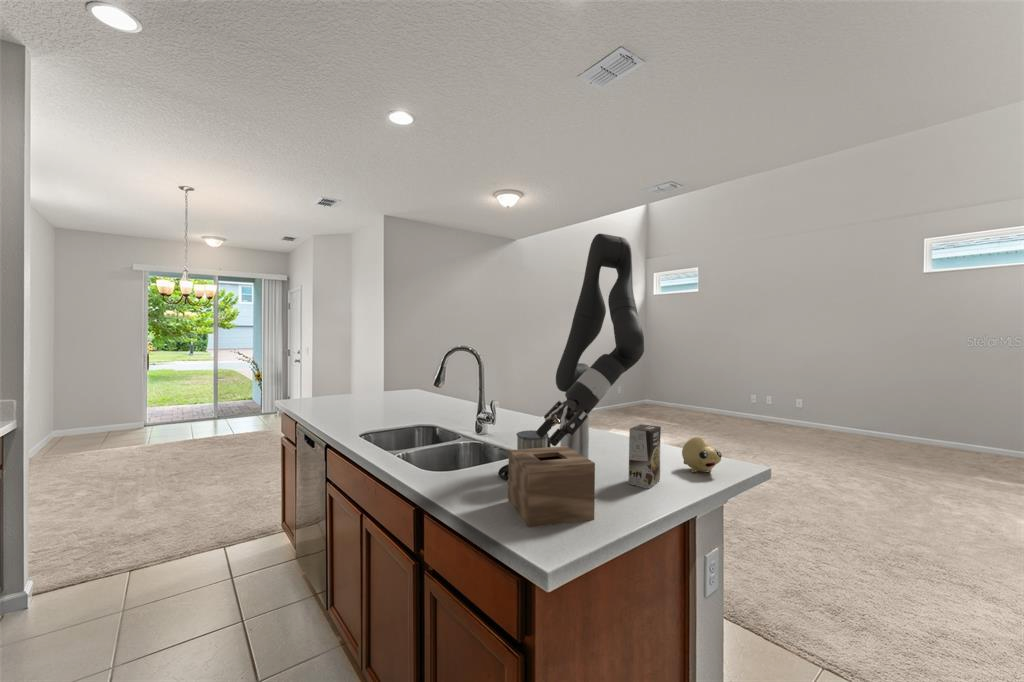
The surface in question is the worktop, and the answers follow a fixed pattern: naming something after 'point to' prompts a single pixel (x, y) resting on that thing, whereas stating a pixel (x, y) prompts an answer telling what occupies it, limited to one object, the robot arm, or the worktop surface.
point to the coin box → (551, 485)
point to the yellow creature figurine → (700, 455)
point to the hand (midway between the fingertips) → (544, 439)
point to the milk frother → (526, 446)
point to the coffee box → (644, 455)
